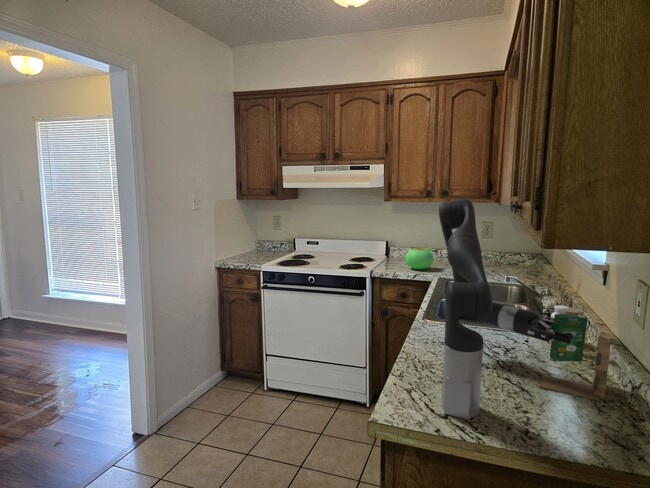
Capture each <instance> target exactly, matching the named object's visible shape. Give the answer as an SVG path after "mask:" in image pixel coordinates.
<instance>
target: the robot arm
mask: <svg viewBox="0 0 650 488" xmlns="http://www.w3.org/2000/svg"><path fill="white" fill-rule="evenodd" d="M438 215H439V216H438V218H439V222H440V226H441V231H442V233H443V234H442V235H443V239H444V242H445V247H446V253H447V261H448V263H449V265H450V267H451V269H452V270H451V271H452V277H453V281H450V282H449V283H448V284H447V285H446V287H445V292H444V293H445V295H444V309H445V310H444V311H445V312H444V313H445V321H444V323H445V327H444V347H443V349H444V350H443V366H442V367H443V368H442V369H443V371H442V393H441V394H442V397H441V399H442V400H441V406H442V409H443V414H446V415H448V416H453V417H457V418H460V419H463V420H468V421H470V419H472V418H475V417H477V416H478V415H479V414H480V409H481V408H480V406H481V391H482V372H483V371H482V369H483V355H484V336H482V334H480V333H479V332H478V331H477V330H473V329H472V328H469V327H468V326H465V325H463V324H462V323H461V322H460V320H461V321H462V320H463V321H465V322H468V323H469V322H470V323H476V324H477V323H479V324H489V325H492V326H495V327H498V328H501V329H504V330H505V331H509V332H511V333H516V334H519V335H523V336H525V337H528V338H529V337H530V338H534V339H537V340H539V341H540V340H541V341H543V342H547V343H549V342H550V341H551V340H552V341H555V340H556V341H560V342H563V343H567V344H570V343H571V339H572V337H571V336H570V335H566V334H562V333H559V332H555V331H553V325H554V318H551V316H548V317H546V318H543V319H541V318H540V317H539V315H538V314H537V312H535V311H533V310H528V309H524V308H520V307H517V306H512V305H506V304H505V305H504V304H501V303H496V302H493V297H492V293H491V288H490V285H489V282H488V278H487V276H486V272H485V268H484V261H483V255H482V254H483V253H482V248H481V244H480V239H479V236H478V232H477V222H476V212H475V208H474V204H473V202H472V201H471V200H470V199H467V198H462V199H455V200H450V201H445V202H441V203H440V204H439V206H438ZM453 230H455V231H454V232H453Z"/></svg>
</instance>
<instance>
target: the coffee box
mask: <svg viewBox="0 0 650 488" xmlns="http://www.w3.org/2000/svg"><path fill="white" fill-rule="evenodd" d="M588 321H589V320H588V317H587V316H586V315H584V314H583V315H573V314H555V317H554V325H553V331H555V332H559V333H562V334H566V335H570V336H571V337H572V339H571V343H570V344H567V343H563V342H560V341H556V340H555V341H551V340H550V341H551V343H550V349H549V350H550V351H549V358H550V359H551V360H552V361H553V362H554V361H555V362H582V361H583V359H584V357H583V356H584V348H585V343H586V342H585V341H586V335H587V327H588V326H587V325H588Z"/></svg>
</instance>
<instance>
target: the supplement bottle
mask: <svg viewBox="0 0 650 488" xmlns="http://www.w3.org/2000/svg"><path fill="white" fill-rule="evenodd" d="M553 308H554V312H552V313H551V314H550V317H551V318H554V317H555V314H563V313H562V308H570V307H569V306H566V305H561V304H560V305H559V304H558V305H555V306H554V307H553ZM550 341H552V340H550Z"/></svg>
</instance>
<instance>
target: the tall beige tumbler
mask: <svg viewBox="0 0 650 488" xmlns="http://www.w3.org/2000/svg"><path fill="white" fill-rule="evenodd" d="M584 311H585V310H583V309H581V308H576V307H569V308H562V313H563V314H573V315H584Z"/></svg>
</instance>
